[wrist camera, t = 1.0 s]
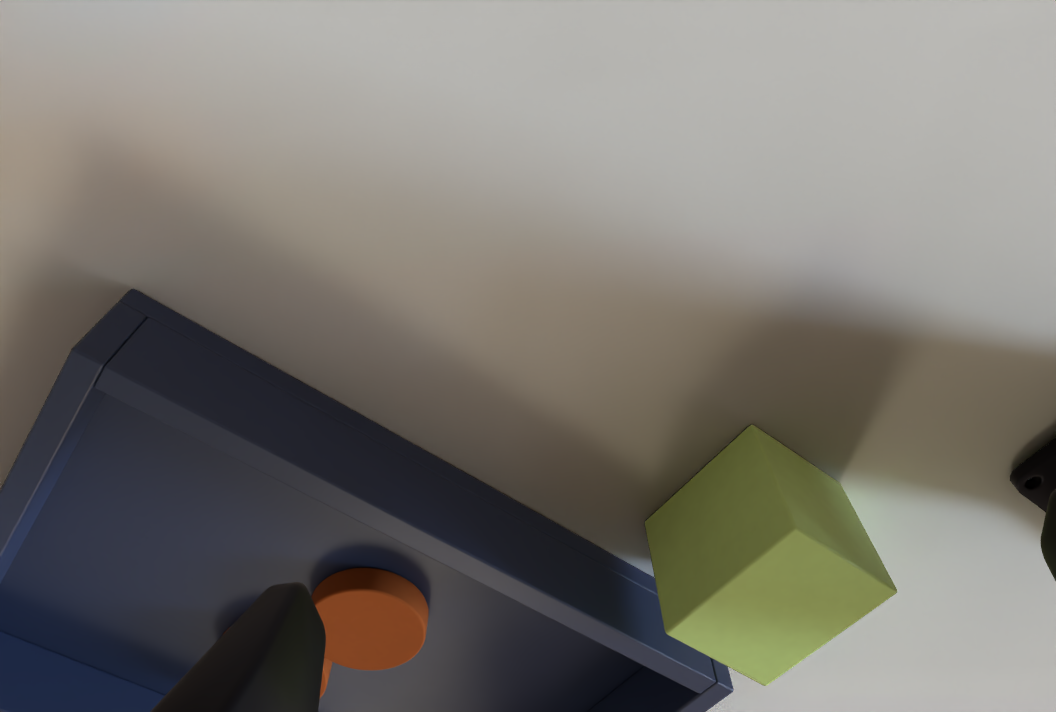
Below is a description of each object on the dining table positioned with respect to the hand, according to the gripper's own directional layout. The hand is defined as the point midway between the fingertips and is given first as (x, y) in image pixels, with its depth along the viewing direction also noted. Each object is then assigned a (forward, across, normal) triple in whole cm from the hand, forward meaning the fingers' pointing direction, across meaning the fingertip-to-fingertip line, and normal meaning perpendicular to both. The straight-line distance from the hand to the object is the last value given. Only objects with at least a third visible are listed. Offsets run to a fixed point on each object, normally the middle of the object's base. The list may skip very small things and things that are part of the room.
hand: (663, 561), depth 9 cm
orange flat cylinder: (+11, +9, +12) cm, 19 cm away
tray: (+12, +11, +13) cm, 21 cm away
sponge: (+12, -3, +11) cm, 17 cm away
